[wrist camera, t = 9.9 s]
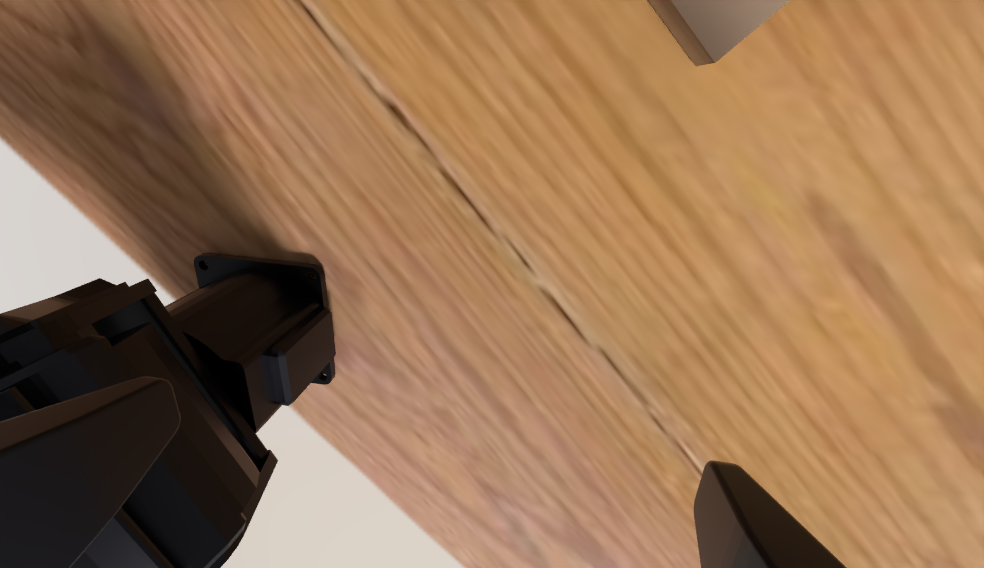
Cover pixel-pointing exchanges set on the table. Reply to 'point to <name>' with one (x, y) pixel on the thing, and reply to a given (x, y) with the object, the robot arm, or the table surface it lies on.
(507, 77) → the table surface
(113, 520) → the robot arm
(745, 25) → the walnut plinth
